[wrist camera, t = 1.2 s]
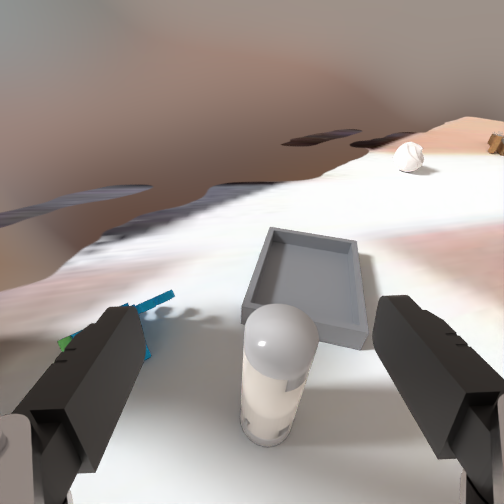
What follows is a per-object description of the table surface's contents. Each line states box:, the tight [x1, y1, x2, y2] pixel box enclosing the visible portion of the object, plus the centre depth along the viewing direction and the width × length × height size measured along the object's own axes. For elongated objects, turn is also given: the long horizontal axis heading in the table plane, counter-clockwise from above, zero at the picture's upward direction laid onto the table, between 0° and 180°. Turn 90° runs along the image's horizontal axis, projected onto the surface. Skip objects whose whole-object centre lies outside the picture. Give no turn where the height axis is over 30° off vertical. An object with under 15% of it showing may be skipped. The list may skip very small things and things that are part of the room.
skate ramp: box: [488, 132, 504, 156], centre depth 102 cm, size 29×35×8 cm
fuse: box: [240, 304, 319, 447], centre depth 21 cm, size 5×5×12 cm
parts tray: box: [241, 227, 369, 350], centre depth 37 cm, size 14×18×3 cm
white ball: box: [394, 142, 424, 172], centre depth 76 cm, size 8×8×8 cm
